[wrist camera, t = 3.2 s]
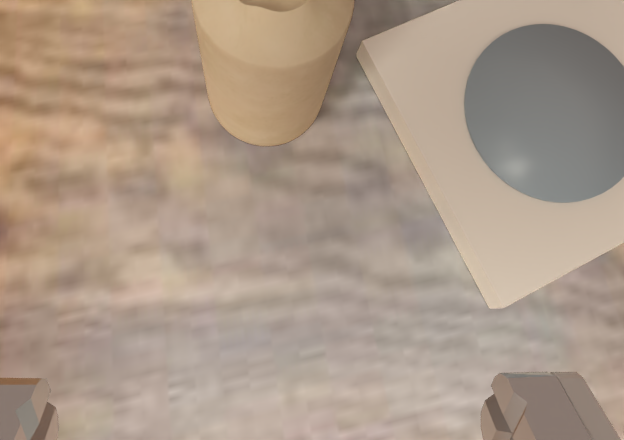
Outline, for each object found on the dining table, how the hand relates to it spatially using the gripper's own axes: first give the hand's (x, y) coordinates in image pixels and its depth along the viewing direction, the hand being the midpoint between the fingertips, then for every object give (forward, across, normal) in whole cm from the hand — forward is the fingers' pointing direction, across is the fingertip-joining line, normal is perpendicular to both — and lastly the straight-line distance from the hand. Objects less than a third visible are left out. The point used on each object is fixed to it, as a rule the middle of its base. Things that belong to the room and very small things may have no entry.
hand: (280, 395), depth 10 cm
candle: (+19, 0, +2) cm, 19 cm away
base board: (+18, -14, +2) cm, 23 cm away
